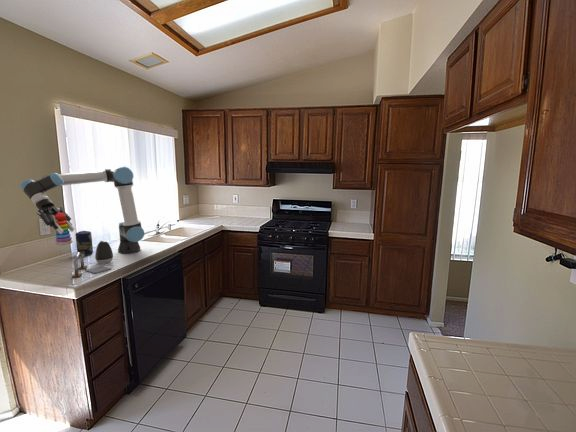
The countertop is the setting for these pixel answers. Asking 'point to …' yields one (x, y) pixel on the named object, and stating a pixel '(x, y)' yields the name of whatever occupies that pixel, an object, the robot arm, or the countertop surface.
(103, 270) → the mat
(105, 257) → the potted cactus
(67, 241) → the stacking toy
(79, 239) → the canister
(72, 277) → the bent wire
